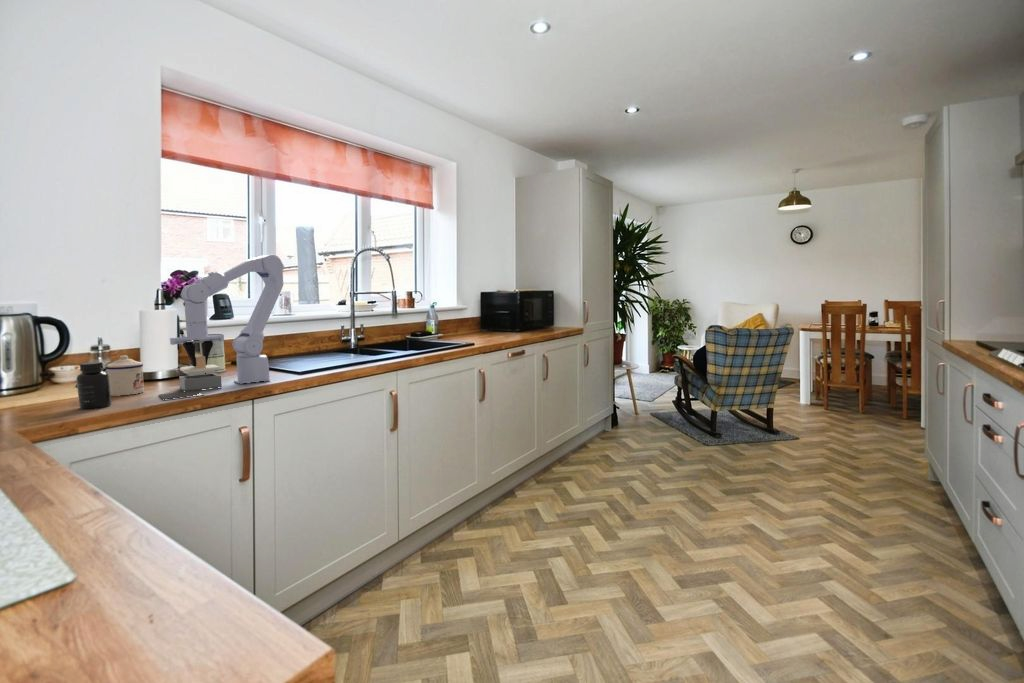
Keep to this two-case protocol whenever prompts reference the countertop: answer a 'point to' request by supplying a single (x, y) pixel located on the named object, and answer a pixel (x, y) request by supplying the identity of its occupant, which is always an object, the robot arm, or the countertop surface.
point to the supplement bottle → (93, 386)
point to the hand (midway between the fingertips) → (199, 365)
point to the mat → (179, 394)
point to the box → (200, 382)
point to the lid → (200, 367)
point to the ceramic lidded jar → (125, 376)
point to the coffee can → (213, 353)
